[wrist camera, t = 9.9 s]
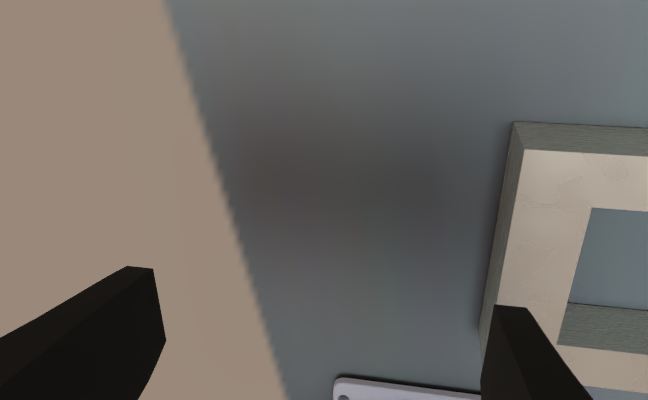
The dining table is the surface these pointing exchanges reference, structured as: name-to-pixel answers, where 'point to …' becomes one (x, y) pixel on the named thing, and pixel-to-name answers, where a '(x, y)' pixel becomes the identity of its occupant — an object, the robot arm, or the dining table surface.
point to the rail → (568, 243)
